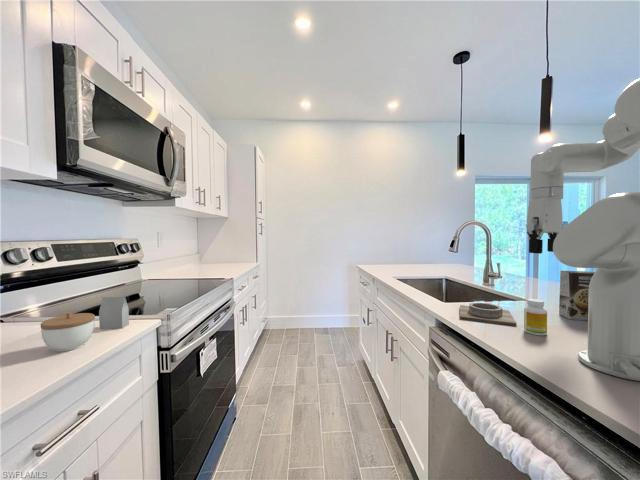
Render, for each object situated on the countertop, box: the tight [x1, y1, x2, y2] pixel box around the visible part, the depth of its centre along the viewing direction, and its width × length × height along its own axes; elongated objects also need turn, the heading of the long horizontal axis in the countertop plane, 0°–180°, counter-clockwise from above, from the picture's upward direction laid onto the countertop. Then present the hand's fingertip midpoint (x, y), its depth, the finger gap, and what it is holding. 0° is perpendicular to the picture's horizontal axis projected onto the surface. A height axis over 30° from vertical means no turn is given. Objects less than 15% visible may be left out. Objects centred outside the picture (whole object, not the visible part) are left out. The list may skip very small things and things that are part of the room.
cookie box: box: [558, 270, 596, 321], centre depth 94 cm, size 9×6×16 cm
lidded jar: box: [40, 311, 96, 353], centre depth 73 cm, size 11×11×9 cm
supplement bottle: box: [523, 298, 548, 336], centre depth 81 cm, size 5×5×10 cm
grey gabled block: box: [98, 296, 130, 330], centre depth 89 cm, size 4×7×10 cm, turn 97°
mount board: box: [459, 302, 517, 327], centre depth 97 cm, size 16×16×4 cm
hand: (544, 252), depth 81 cm, fingers open, 9 cm apart
